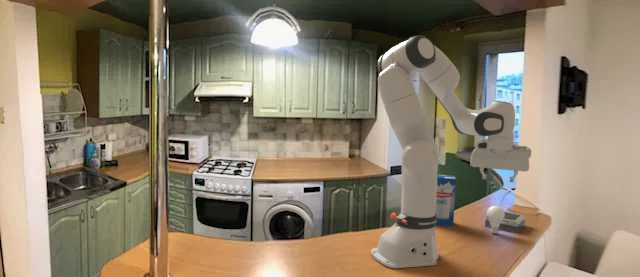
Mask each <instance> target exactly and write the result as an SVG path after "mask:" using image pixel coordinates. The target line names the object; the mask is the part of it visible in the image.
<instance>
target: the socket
mask: <svg viewBox="0 0 640 277" xmlns="http://www.w3.org/2000/svg"><path fill="white" fill-rule="evenodd" d="M504 212H505V217H504V219H503V220H502V222H501V223H500V226H499V228H498V231H504V232H508V233H513V234H518V233H519V232H520V231H522V229H523V228H524V227H525V226H526V219H525V214H521V213H515V212H509V211H504ZM484 221H485V222H484V227H487V228H490V229H491V224H490V220H489V219H488V217H487V216H486V218H485V220H484Z"/></svg>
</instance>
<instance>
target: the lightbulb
mask: <svg viewBox="0 0 640 277" xmlns="http://www.w3.org/2000/svg"><path fill="white" fill-rule="evenodd" d="M505 212H506V211H505ZM505 212H504V209H503V208H502V207H501V206H499V205H492V206H489V207H488V208H487V210H486V218H487V217H488V219H489V220H490V224H491V228H490V232H491V233H492V234H494V235H496V234H498V233H499V229H498V228H499V226H500V223H501V222H502V220H503V219H504V217H505Z"/></svg>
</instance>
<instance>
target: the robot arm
mask: <svg viewBox="0 0 640 277" xmlns="http://www.w3.org/2000/svg"><path fill="white" fill-rule="evenodd" d="M377 71H378V77H377V84H378V89H379V94H380V97H381V100H382V104H383V107H384V109H385V112H386V115H387V117H388V120H389V123H390V126H391V128H392V130H393V132H394V134H395V136H396V138H397V140H398V142H399V145H400V147H401V149H402V152H401V208H400V211H399V214H398V213H395V212H392V213H391V214H390V218H391V219H392V220H394V221H395V223H394V224H393V225H392V226H390V227H389V228H388V229H387V230H386V231H385V232H384V233H382V234H381V235H380V236H379V240H378V244H377V247H374V248H371V250H370V254H371V256H372V258H373V259H374V260H376V262H378V263H380V264H382V265H383V266H386V267H388V268H390V269H401V268H403V269H406V268H414V267H415V268H417V267H427V266H436V265H437V264H438V261H437V260H438V259H439V257H440V254H439V251H438V248H437V247H438V246H437V238H436V226H437V214H436V193H437V175H438V173H439V172H438V170H439V167H438V166H439V150H438V146H437V143H436V140H435V138H434V136H433V133H432V131H431V128H430V124H429V123H428V120H427V118H426V115H425V113H424V110H423V108H422V105H421V102H420V99H419V97H418V94H417V91H416V89H415V86H414V84H413V82H412V80H411V76H412V75H413V74H416V73H418V74H419V75H420V77H421V79H422V81H424V82H425V83H426V85H427V86H428V87H429V88H430V90H432V92H433V94H434V95H435V97H436V98H437V100H438V101H439V103H440V105H442V107H443V108H444V110H445V111H446V112H447V114H448V116H449V117H450V120H451V122H452V125H453V128H454V130H455V131H456V132H457V133H458V134H460V135H466V136H467V135H469V136H475V137H476V136H478V137H483V138H484V137H487V138H486V139H483V140H479V141H475V143H474V149H473V150H472V152H471V155H470V161H469V162H470V164H469V165H470V166H471V167H473V168H479V172H480V173H481V176H482V180H487V178H488V177H487V176H488V174H486V173H485V172H484V170H485V169H494V170H495V169H496V170H504V171H513V175H512V176H510V177H509V183H514V182H515V178H516V177H517V175H518V174H519V172H528V171H529V170H530V158H531V156H532V150H531V148H530V147H528V146H526V145H514V140H515V135H514V128H515V125H516V110H515V106H514V105H513V104H512V103H511V102H508V101H507V102H506V101H501V100H500V101H499V100H495V101H492V102H491V104H489V105H488V106H486V107H483V108H481V109H480V110H479V109H471V108H468V107H466V106H465V105H464V104H463V103H462V102H461V100H460V98H459V97H458V96H457V94H456V93H455V90H456V88H457V87H458V85H459V84H460V79H461V75H460V72H459V69H458V68H457V67H456V66H455V65H454V63H453V62H452V61H451V59H449V57H448V56H447V55H446V54H445V53H444V52H443V51H442V50H441V49H440V48H438V47H437V46H436V45H435V44H434V43H433V41H432V40H431V39H430V38H428V37H427V36H425V35H421V34H419V35H418V34H417V35H414V36H411V37H409V38H408V39H407V40H405V41H402V42H400V43H398V44H396V45H394V46H393V47H391V48H390V49H389V50H388V51H385V52H383V54H381V56H380V57H379V59H378V60H377Z"/></svg>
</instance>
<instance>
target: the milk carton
mask: <svg viewBox="0 0 640 277" xmlns="http://www.w3.org/2000/svg"><path fill="white" fill-rule="evenodd" d="M456 180H457V178H456V176H455V175H452V174H451V175H449V174H448V175H447V174H437V193H436V214H437V225H436V226H439V227H447V228H448V227H451V228H452V227H454V222H455V220H454V218H455V202H456V200H455V199H456V182H457V181H456Z"/></svg>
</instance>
